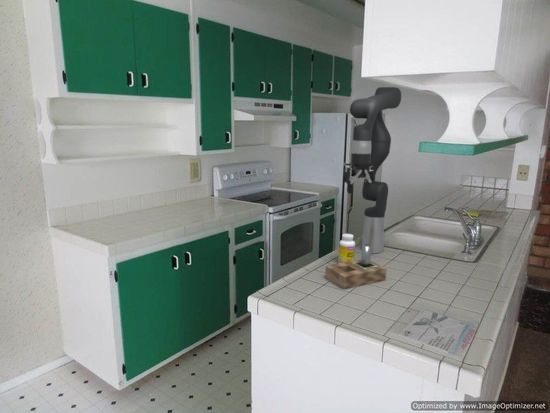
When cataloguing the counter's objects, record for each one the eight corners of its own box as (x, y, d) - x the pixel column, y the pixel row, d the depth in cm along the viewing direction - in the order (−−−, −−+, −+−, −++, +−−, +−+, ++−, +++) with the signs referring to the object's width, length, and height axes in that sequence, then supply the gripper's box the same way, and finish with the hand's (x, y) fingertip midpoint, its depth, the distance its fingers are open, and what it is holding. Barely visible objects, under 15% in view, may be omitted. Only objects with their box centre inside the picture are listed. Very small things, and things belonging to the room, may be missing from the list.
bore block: (365, 269, 164) (366, 257, 163) (385, 280, 154) (386, 267, 153) (325, 277, 155) (325, 265, 154) (343, 289, 145) (344, 275, 144)
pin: (365, 272, 159) (367, 243, 156) (371, 275, 156) (373, 246, 153) (358, 273, 157) (360, 245, 154) (363, 277, 154) (366, 247, 151)
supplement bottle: (346, 267, 166) (348, 238, 163) (334, 262, 171) (336, 234, 168) (357, 264, 170) (359, 235, 167) (345, 260, 175) (347, 232, 172)
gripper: (369, 151, 162) (366, 189, 166) (340, 151, 156) (338, 192, 159) (381, 152, 156) (378, 193, 159) (352, 153, 149) (350, 195, 153)
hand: (358, 192), depth 159 cm, fingers open, 8 cm apart
